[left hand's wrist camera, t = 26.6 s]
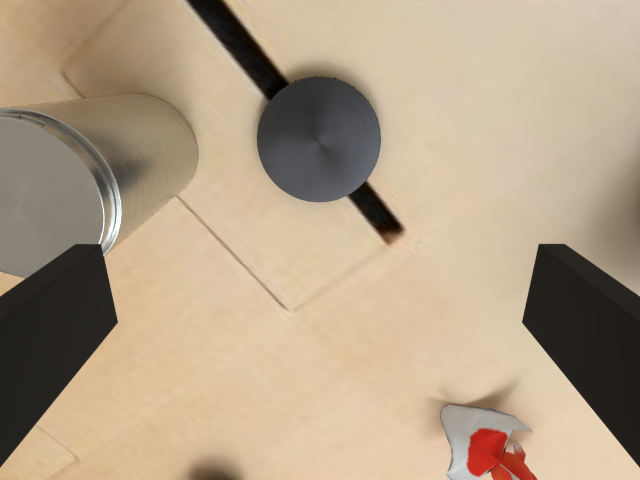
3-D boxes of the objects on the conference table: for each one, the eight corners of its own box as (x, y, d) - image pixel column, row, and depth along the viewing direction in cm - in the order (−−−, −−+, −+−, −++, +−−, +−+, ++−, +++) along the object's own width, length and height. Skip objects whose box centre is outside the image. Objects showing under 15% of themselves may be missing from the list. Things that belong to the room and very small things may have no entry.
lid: (276, 208, 42) (274, 213, 40) (245, 91, 38) (242, 92, 36) (387, 184, 41) (389, 189, 39) (367, 63, 37) (369, 62, 35)
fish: (471, 524, 53) (511, 573, 43) (404, 414, 55) (428, 437, 45) (537, 475, 54) (590, 511, 44) (470, 370, 56) (507, 382, 46)
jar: (116, 70, 37) (-50, 68, 20) (216, 133, 39) (140, 178, 22) (75, 164, 40) (-97, 229, 24) (170, 218, 42) (73, 312, 26)
